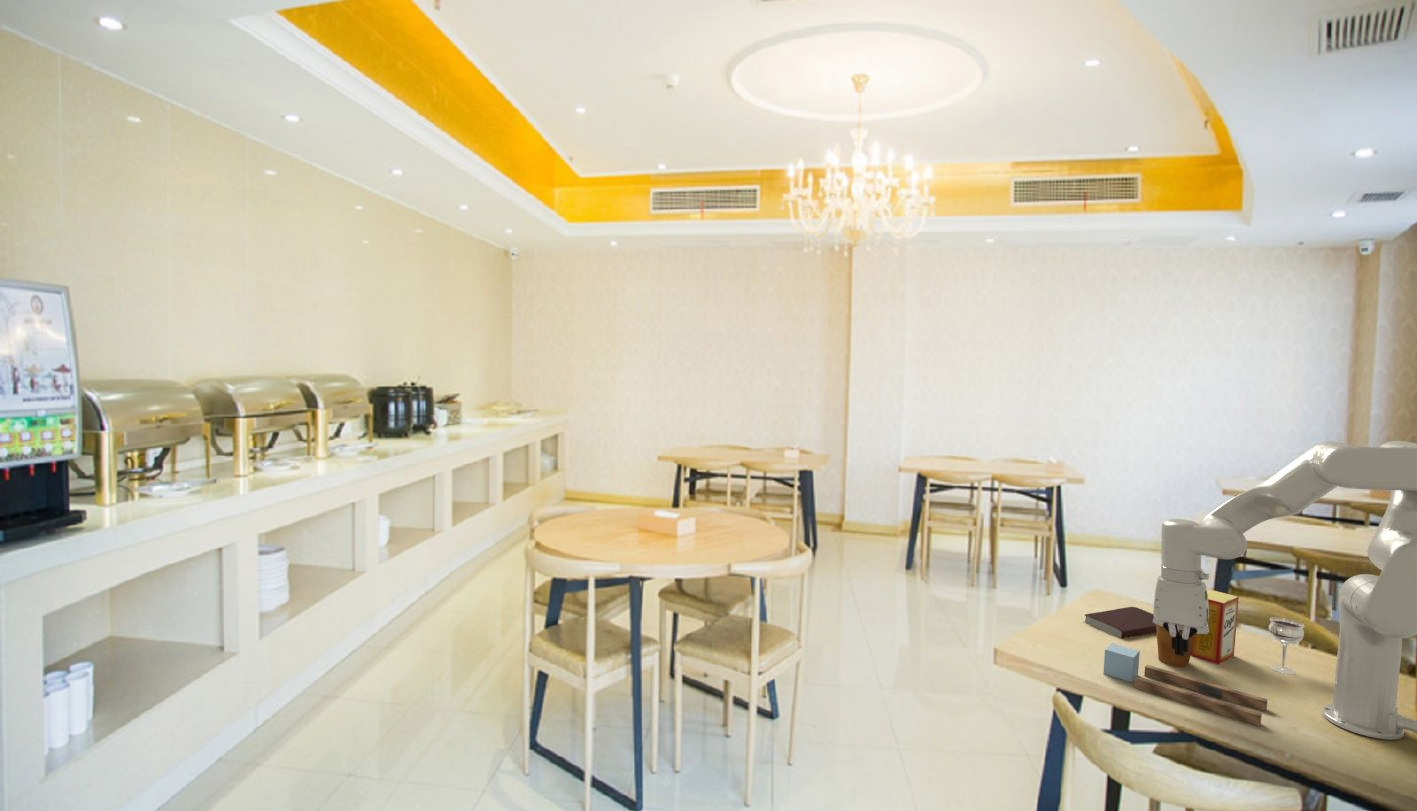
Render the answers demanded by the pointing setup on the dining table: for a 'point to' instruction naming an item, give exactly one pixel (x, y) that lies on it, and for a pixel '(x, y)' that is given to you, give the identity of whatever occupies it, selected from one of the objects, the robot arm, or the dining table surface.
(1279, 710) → the dining table surface
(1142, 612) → the book
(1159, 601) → the robot arm
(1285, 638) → the wineglass
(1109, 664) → the block
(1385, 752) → the dining table surface
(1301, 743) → the dining table surface
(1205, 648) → the baking soda box
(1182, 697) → the chute
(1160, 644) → the disposable coffee cup
